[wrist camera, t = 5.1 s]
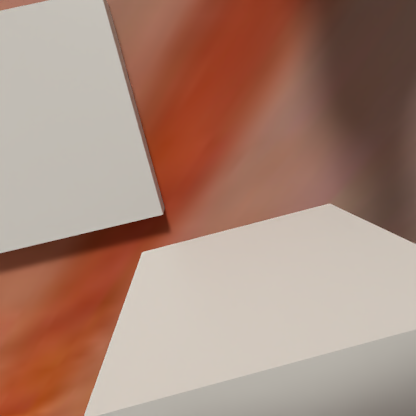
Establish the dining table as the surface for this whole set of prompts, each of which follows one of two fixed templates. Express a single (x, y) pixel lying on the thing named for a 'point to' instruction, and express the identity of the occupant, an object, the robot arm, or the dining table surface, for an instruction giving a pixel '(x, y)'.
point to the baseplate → (68, 127)
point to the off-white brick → (268, 324)
